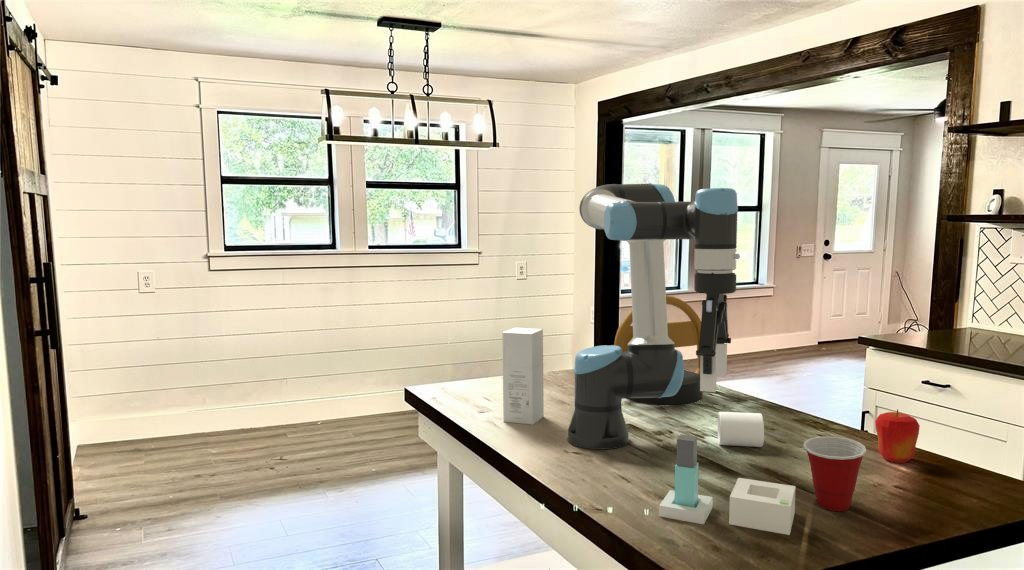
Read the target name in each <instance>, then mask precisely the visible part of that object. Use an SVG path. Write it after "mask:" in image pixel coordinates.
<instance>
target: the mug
mask: <svg viewBox="0 0 1024 570" xmlns="http://www.w3.org/2000/svg"><path fill="white" fill-rule="evenodd" d="M716 422H717V429H716V430H717V442H718V445H720V446H732V447H733V446H735V447H736V446H737V447H756V448H762V447H763V446H764V441H765V424H764V417H763V414H762V413H760V412H759V413H758V412H756V413H755V412H737V411H735V412H734V411H718V413H717V421H716Z"/></svg>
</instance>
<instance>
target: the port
mask: <svg viewBox="0 0 1024 570" xmlns="http://www.w3.org/2000/svg"><path fill="white" fill-rule="evenodd" d="M795 511H796V485H792V484H791V485H790V484H783V483H776V482H769V481H765V480H764V481H763V480H757V479H756V480H755V479H749V478H742V477H738V478H737V480H736V483H735V485H734V486H733V489H732V491H731V493H730V495H729V511H728V512H729V514H728V518H729V520H728V525H732V526H738V527H742V528H747V529H753V530H754V529H755V530H759V531H765V532H770V533H771V532H772V533H776V534H780V535H781V534H782V535H787V536H790V535H791V531H792V526H793V522H794V518H795V513H796V512H795Z"/></svg>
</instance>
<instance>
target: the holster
mask: <svg viewBox="0 0 1024 570" xmlns="http://www.w3.org/2000/svg"><path fill="white" fill-rule="evenodd" d="M658 509H659V510H658V512H659V513H658V516H659V517H662V518H666V519H672V520H677V521H681V522H682V521H683V522H689V523H694V524H700V525H705V523H706V521H707V520H708V517H709V515H710V513H711V512H712V510H713V496H708V495H702V494H698V505H697V507H696V508H694V507H688V506H682V505H677V504H675V490H673V489H672V490H671V489H669V491H668V492H667V494H666V495H665V497H664V498H663V499H662V500H661V502H660V504H659V507H658Z"/></svg>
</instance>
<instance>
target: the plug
mask: <svg viewBox="0 0 1024 570" xmlns="http://www.w3.org/2000/svg"><path fill="white" fill-rule="evenodd" d="M697 461H698V436H696V435H688V434H680V435H679V436H678V437H677V438H676V464H675V465H674V491H675V504H677V505H682V506H688V507H694V508H696V507H697V505H698V495H699V462H697Z"/></svg>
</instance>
